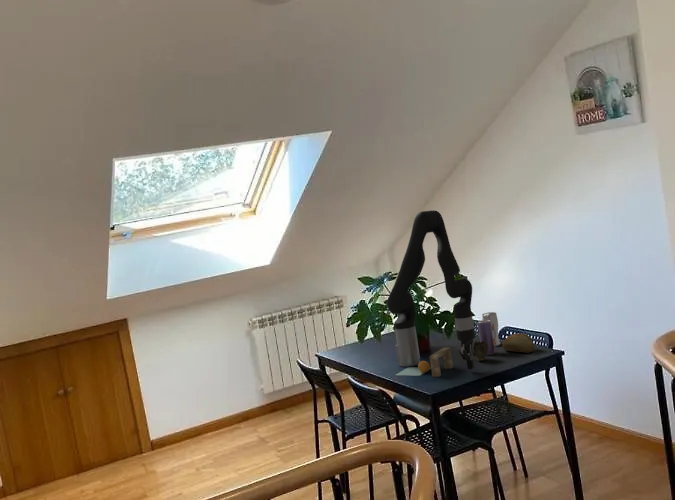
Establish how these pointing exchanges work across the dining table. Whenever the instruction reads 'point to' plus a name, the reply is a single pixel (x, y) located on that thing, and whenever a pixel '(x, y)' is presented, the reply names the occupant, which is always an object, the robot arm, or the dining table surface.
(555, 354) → the dining table surface
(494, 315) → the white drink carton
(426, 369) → the ball
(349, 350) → the dining table surface
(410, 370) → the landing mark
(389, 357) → the dining table surface
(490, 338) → the beverage can
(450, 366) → the bridge
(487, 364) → the dining table surface
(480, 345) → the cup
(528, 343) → the bread roll
